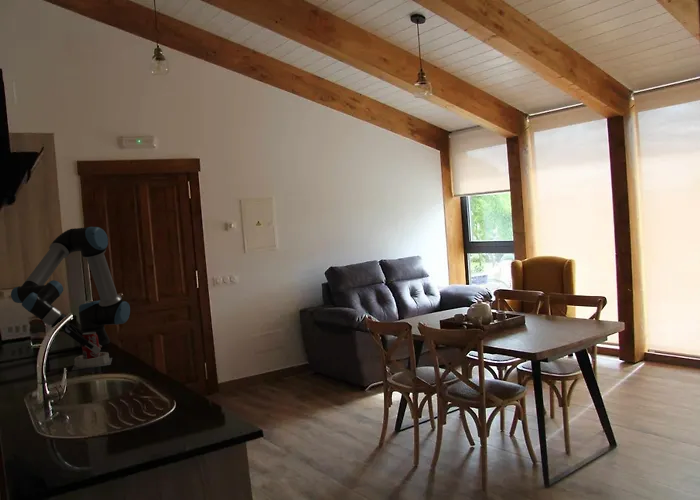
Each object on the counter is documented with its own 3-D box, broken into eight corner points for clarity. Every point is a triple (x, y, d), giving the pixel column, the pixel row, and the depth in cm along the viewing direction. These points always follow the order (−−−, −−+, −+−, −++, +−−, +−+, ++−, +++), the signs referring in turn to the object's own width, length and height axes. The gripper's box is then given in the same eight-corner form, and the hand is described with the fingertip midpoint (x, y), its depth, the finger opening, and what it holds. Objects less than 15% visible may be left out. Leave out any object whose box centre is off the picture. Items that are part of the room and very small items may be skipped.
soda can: (103, 356, 280) (100, 330, 279) (95, 360, 273) (92, 333, 272) (88, 357, 280) (85, 331, 280) (80, 361, 273) (77, 334, 273)
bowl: (77, 363, 281) (76, 355, 281) (109, 358, 285) (109, 350, 285) (74, 369, 268) (73, 361, 267) (108, 364, 272) (107, 356, 272)
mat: (75, 363, 282) (75, 363, 282) (112, 358, 287) (112, 357, 287) (71, 371, 266) (71, 370, 266) (110, 365, 271) (110, 364, 271)
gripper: (53, 323, 280) (95, 353, 286) (47, 329, 261) (92, 361, 267) (64, 310, 281) (106, 340, 287) (59, 315, 263) (103, 347, 269)
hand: (99, 350), depth 277 cm, fingers closed on soda can, 7 cm apart
